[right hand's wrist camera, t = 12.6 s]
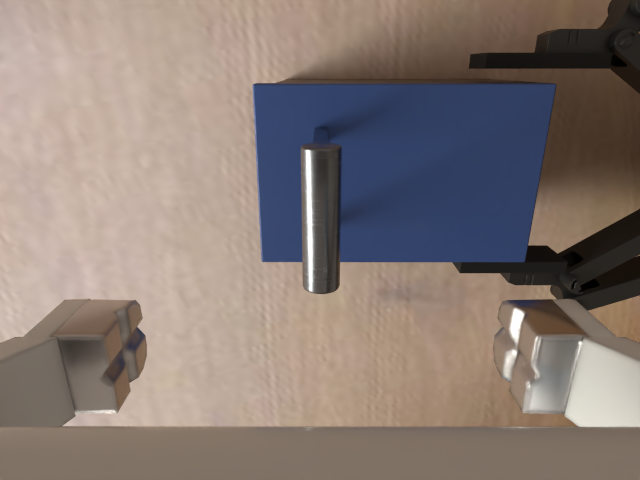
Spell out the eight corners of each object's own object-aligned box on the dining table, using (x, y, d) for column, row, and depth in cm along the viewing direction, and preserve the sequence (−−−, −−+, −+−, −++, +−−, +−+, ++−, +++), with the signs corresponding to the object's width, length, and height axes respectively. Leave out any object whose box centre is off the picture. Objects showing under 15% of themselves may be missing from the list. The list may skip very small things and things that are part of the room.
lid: (263, 255, 26) (238, 336, 18) (255, 83, 23) (219, 90, 15) (517, 255, 26) (603, 336, 18) (546, 83, 23) (667, 90, 15)
